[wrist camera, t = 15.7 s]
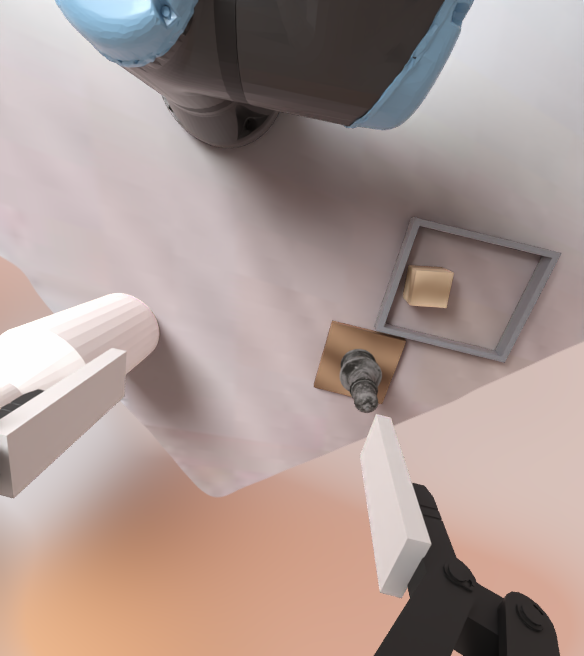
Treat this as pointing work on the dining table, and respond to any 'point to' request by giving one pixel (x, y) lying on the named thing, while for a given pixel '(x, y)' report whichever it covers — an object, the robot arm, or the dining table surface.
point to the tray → (518, 316)
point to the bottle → (74, 342)
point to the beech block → (427, 286)
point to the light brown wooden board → (355, 337)
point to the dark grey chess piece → (361, 378)
